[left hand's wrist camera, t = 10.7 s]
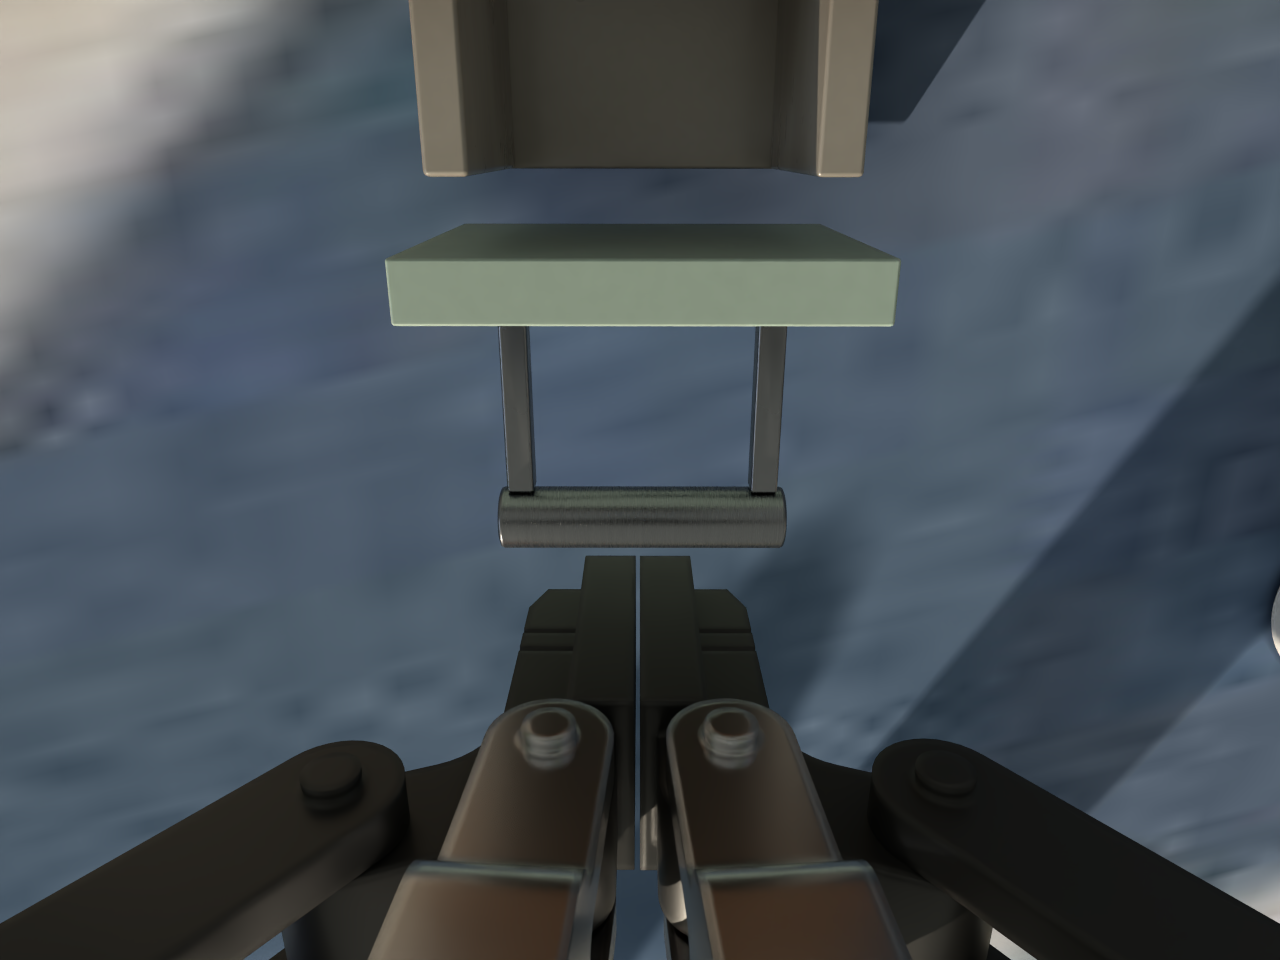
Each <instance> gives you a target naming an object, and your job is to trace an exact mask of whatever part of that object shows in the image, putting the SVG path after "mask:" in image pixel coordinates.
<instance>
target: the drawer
mask: <svg viewBox="0 0 1280 960" xmlns="http://www.w3.org/2000/svg"><path fill="white" fill-rule="evenodd" d="M878 3H879V0H409V10H410V22H411V34H412V46H413V58H414V69H415V81H416V93H417V105H418V117H419V129H420V141H421V152H422V164H423V172H424V174H425V175H427V176H429V177H465V176H471V175H476V174H482V173H488V172H494V171H499V170H505V169H510V168H603V169H778V170H783V171H789V172H795V173H801V174H807V175H812V176H818V177H860V176H862V175H863V173H864V162H865V150H866V139H867V128H868V117H869V105H870V94H871V83H872V71H873V60H874V49H875V37H876V26H877V15H878ZM385 265H386V274H387V284H388V294H389V303H390V313H391V323H392V325H394V326H498V334H499V352H500V369H501V386H502V403H503V420H504V437H505V454H506V471H507V486H506V487H503V488H502V490H501V493H500V496H499V503H498V533H499V539H500V543H501V545H502V546H503V547H505V548H780V547H782V546H783V544H784V541H785V536H786V526H787V510H786V500H785V495H784V492H783V489H782V488H781V487H777V482H778V466H779V450H780V434H781V418H782V402H783V386H784V370H785V354H786V338H787V326H893V325H894V322H895V313H896V303H897V294H898V285H899V275H900V266H901V260H900V259H898V258H896V257H894V256H892V255H889V254H887V253H885V252H882V251H880V250H878V249H876V248H873V247H871V246H869V245H866V244H864V243H862V242H860V241H857V240H855V239H853V238H850V237H848V236H846V235H844V234H841V233H839V232H837V231H834V230H832V229H830V228H828V227H825V226H823V225H821V224H463V225H461V226H459V227H457V228H454V229H452V230H450V231H448V232H445V233H443V234H441V235H439V236H436V237H434V238H432V239H429V240H427V241H425V242H423V243H420V244H418V245H416V246H414V247H411V248H409V249H407V250H405V251H402V252H400V253H398V254H396V255H393V256H391V257H389V258H387V259H386V260H385ZM529 326H756V331H755V351H754V371H753V392H752V412H751V432H750V453H749V473H748V484H749V487H622V486H535V485H536V464H535V442H534V420H533V398H532V376H531V354H530V332H529Z"/></svg>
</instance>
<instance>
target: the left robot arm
mask: <svg viewBox="0 0 1280 960" xmlns="http://www.w3.org/2000/svg"><path fill="white" fill-rule="evenodd" d="M635 727H636V556H586V557H585V564H584V572H583V579H582V587H581V589H548V590H547V591H546V592H545V593H544V594H543V595H542V596H541V597H540V598H539V599H538V600H537V601H536V602H535V603H534V604H533V605H532V606H530V607H529V611H528V615H527V620H526V624H525V628H524V633H523V636H522V640H521V644H520V651H519V653H518V657H517V661H516V665H515V669H514V674H513V678H512V682H511V686H510V690H509V694H508V699H507V703H506V707H505V711H504V713H503V714H501V715H500V716H499V717H498V718H497V719H495V720H494V721H493V723H492V724H491V725H490V726H489V728H488V730H487V732H486V734H485V736H484V739H483V741H482V744H481V746H480V747H478V748H477V749H475V750H474V751H472V752H470V753H468V754H466V755H464V756H462V757H459V758H457V759H454V760H451V761H448V762H445V763H441V764H437V765H433V766H429V767H424V768H420V769H415V770H411V771H406V772H405V770H404V766H403V763H402V761H401V759H400V758H399V757H398V755H397V754H396V753H394V752H393V751H392V750H391V749H389V748H387V747H385V746H383V745H380V744H377V743H373V742H367V741H340V742H334V743H328V744H325V745H321V746H318V747H315V748H312V749H309V750H307V751H304V752H302V753H300V754H298V755H296V756H294V757H293V758H291V759H289V760H287V761H285V762H284V763H282V764H280V765H278V766H277V767H275V768H273V769H271V770H270V771H268V772H266V773H264V774H263V775H261V776H259V777H257V778H256V779H254V780H252V781H250V782H249V783H247V784H245V785H243V786H242V787H240V788H238V789H236V790H235V791H233V792H231V793H229V794H227V795H226V796H224V797H222V798H220V799H219V800H217V801H215V802H213V803H212V804H210V805H208V806H206V807H205V808H203V809H201V810H199V811H198V812H196V813H194V814H192V815H191V816H189V817H187V818H185V819H184V820H182V821H180V822H178V823H176V824H175V825H173V826H171V827H169V828H168V829H166V830H164V831H162V832H161V833H159V834H157V835H155V836H154V837H152V838H150V839H148V840H147V841H145V842H143V843H141V844H140V845H138V846H136V847H134V848H133V849H131V850H129V851H127V852H125V853H124V854H122V855H120V856H118V857H117V858H115V859H113V860H111V861H110V862H108V863H106V864H104V865H103V866H101V867H99V868H97V869H96V870H94V871H92V872H90V873H89V874H87V875H85V876H83V877H82V878H80V879H78V880H76V881H75V882H73V883H71V884H69V885H67V886H66V887H64V888H62V889H60V890H59V891H57V892H55V893H53V894H52V895H50V896H48V897H46V898H45V899H43V900H41V901H39V902H38V903H36V904H34V905H32V906H31V907H29V908H27V909H25V910H24V911H22V912H20V913H18V914H16V915H15V916H13V917H11V918H9V919H8V920H6V921H4V922H2V923H1V924H0V960H243V959H244V958H246V957H247V956H248V955H250V954H251V953H253V952H254V951H255V950H257V949H258V948H259V947H261V946H262V945H264V944H265V943H266V942H268V941H269V940H271V939H272V938H273V937H275V936H276V935H277V934H279V933H280V932H282V936H283V941H284V946H285V948H284V949H283V950H281V951H280V952H279V953H277V954H276V955H275V956H273V957H272V958H271V959H269V960H613V957H614V948H615V940H616V876H617V870H634V855H635ZM640 870H658V897H659V903H660V906H661V908H662V911H663V913H664V940H665V948H666V957H667V960H1011V959H1009V958H1008V957H1007V956H1005V955H1004V954H1003V953H1001V952H1000V951H999V950H997V949H996V948H994V947H993V946H992V945H990V939H991V934H992V928H994V929H996V930H997V931H998V932H1000V933H1001V934H1003V935H1004V936H1005V937H1007V938H1008V939H1009V940H1011V941H1012V942H1014V943H1015V944H1016V945H1018V946H1019V947H1021V948H1022V949H1023V950H1025V951H1026V952H1027V953H1029V954H1030V955H1032V956H1033V957H1034V958H1036V959H1037V960H1280V924H1279V923H1278V922H1276V921H1274V920H1272V919H1271V918H1269V917H1267V916H1265V915H1263V914H1262V913H1260V912H1258V911H1256V910H1255V909H1253V908H1251V907H1249V906H1248V905H1246V904H1244V903H1242V902H1241V901H1239V900H1237V899H1235V898H1234V897H1232V896H1230V895H1228V894H1227V893H1225V892H1223V891H1221V890H1220V889H1218V888H1216V887H1214V886H1212V885H1211V884H1209V883H1207V882H1205V881H1204V880H1202V879H1200V878H1198V877H1197V876H1195V875H1193V874H1191V873H1190V872H1188V871H1186V870H1184V869H1183V868H1181V867H1179V866H1177V865H1176V864H1174V863H1172V862H1170V861H1169V860H1167V859H1165V858H1163V857H1162V856H1160V855H1158V854H1156V853H1154V852H1153V851H1151V850H1149V849H1147V848H1146V847H1144V846H1142V845H1140V844H1139V843H1137V842H1135V841H1133V840H1132V839H1130V838H1128V837H1126V836H1125V835H1123V834H1121V833H1119V832H1118V831H1116V830H1114V829H1112V828H1111V827H1109V826H1107V825H1105V824H1103V823H1102V822H1100V821H1098V820H1096V819H1095V818H1093V817H1091V816H1089V815H1088V814H1086V813H1084V812H1082V811H1081V810H1079V809H1077V808H1075V807H1074V806H1072V805H1070V804H1068V803H1067V802H1065V801H1063V800H1061V799H1060V798H1058V797H1056V796H1054V795H1052V794H1051V793H1049V792H1047V791H1045V790H1044V789H1042V788H1040V787H1038V786H1037V785H1035V784H1033V783H1031V782H1030V781H1028V780H1026V779H1024V778H1023V777H1021V776H1019V775H1017V774H1016V773H1014V772H1012V771H1010V770H1009V769H1007V768H1005V767H1003V766H1002V765H1000V764H998V763H996V762H994V761H993V760H991V759H989V758H987V757H986V756H984V755H982V754H980V753H978V752H976V751H974V750H972V749H970V748H967V747H964V746H962V745H959V744H955V743H951V742H947V741H942V740H936V739H911V740H905V741H901V742H898V743H894V744H892V745H890V746H888V747H887V748H885V749H884V750H883V751H881V752H880V753H879V755H878V756H877V757H876V759H875V761H874V764H873V767H872V773H871V772H866V771H862V770H857V769H853V768H848V767H844V766H839V765H835V764H832V763H828V762H824V761H822V760H819V759H816V758H814V757H811V756H809V755H808V754H806V753H804V752H802V751H801V749H800V747H799V744H798V741H797V739H796V736H795V734H794V732H793V730H792V728H791V726H790V725H789V724H788V723H787V721H786V720H785V719H783V718H782V717H781V716H780V715H779V714H777V713H776V712H774V711H772V710H771V709H769V705H768V701H767V696H766V692H765V688H764V683H763V679H762V675H761V670H760V666H759V662H758V657H757V653H756V651H755V644H754V640H753V636H752V633H751V627H750V623H749V618H748V614H747V610H746V607H745V606H744V605H743V604H742V603H741V602H740V601H739V600H738V599H737V598H735V597H734V596H733V595H732V594H731V593H730V592H729V591H728V590H727V589H694V584H693V576H692V568H691V560H690V556H640Z"/></svg>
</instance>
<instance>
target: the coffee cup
mask: <svg viewBox="0 0 1280 960" xmlns="http://www.w3.org/2000/svg"><path fill="white" fill-rule="evenodd" d="M1271 628H1272V635H1273V640H1274V643H1275V646H1276V649H1277V651H1278V653H1279V655H1280V587H1279V589H1278V592H1277V594H1276V597H1275V601H1274V605H1273V610H1272V618H1271Z"/></svg>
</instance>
